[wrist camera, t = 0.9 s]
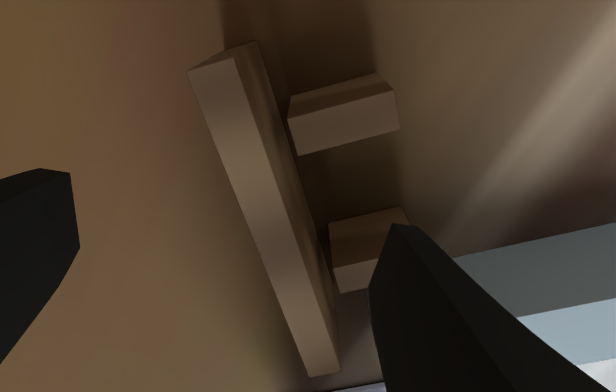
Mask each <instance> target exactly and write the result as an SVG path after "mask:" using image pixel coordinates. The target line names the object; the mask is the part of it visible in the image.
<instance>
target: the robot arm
mask: <svg viewBox="0 0 616 392" xmlns="http://www.w3.org/2000/svg"><path fill="white" fill-rule="evenodd" d="M79 249H80V242H79V235H78V228H77V221H76V214H75V206H74V199H73V192H72V185H71V178H70V173H68V172H61V171H55V170H48V169H42V168H38V169H34V170H30V171H26V172H22V173H19V174H16V175H12V176H9V177H6V178H3V179H0V364H1V363H2V361H3V360H4V359H5V357H6V356H7V355H8V353H9V352H10V351H11V349H12V348H13V347H14V346H15V344H16V343H17V342H18V340H19V339H20V338H21V336H22V335H23V334H24V332H25V331H26V330H27V328H28V327H29V326H30V324H31V323H32V322H33V321H34V319H35V318H36V317H37V315H38V314H39V312H40V311H41V310H42V308H43V307H44V306H45V304H46V303H47V302H48V300H49V299H50V298H51V296H52V295H53V294H54V292H55V291H56V289H57V288H58V287H59V285H60V283H61V282H62V280H63V278H64V276H65V275H66V273H67V271H68V269H69V268H70V266H71V264H72V262H73V260H74V258H75V256H76V254H77V253H78V251H79ZM368 289H369V302H370V313H371V323H372V329H373V334H374V338H375V343H376V348H377V352H378V357H379V361H380V365H381V370H382V374H383V379H384V382H382V383H376V384H371V385H366V386H360V387H355V388H349V389H344V390H339V391H333V392H611V391H609V390H608V389H607V388H605V387H604V386H602V385H601V384H600V383H598V382H597V381H595V380H594V379H593V378H591V377H590V376H588V375H587V374H586V373H584V372H583V371H582V370H580V369H579V368H578V367H576V366H575V365H574V364H573V363H571V362H570V361H569V360H567V359H566V358H565V357H563V356H562V355H561V354H560V353H558V352H557V351H556V350H554V349H553V348H552V347H550V346H549V345H548V344H547V343H545V342H544V341H543V340H542V339H540V338H539V337H538V336H537V335H535V334H534V333H533V332H532V331H531V330H529V329H528V328H527V327H526V326H525V325H524V324H522V323H521V322H520V321H519V320H518V319H517V318H515V317H514V316H513V315H512V314H511V313H510V312H508V311H507V310H506V309H505V308H504V307H503V306H502V305H500V304H499V303H498V302H497V301H496V300H495V299H494V298H493V297H492V296H491V295H489V294H488V293H487V292H486V291H485V290H484V289H483V288H482V287H481V286H480V285H479V284H478V283H477V282H475V281H474V280H473V279H472V278H471V277H470V276H469V275H468V274H467V273H466V272H465V271H464V270H463V269H462V268H461V267H460V266H459V265H458V264H457V263H456V262H455V261H454V260H453V259H452V258H450V257H449V256H448V255H447V254H446V253H445V252H444V251H443V250H442V249H441V248H440V247H439V246H438V245H437V244H436V243H435V242H434V241H433V240H432V239H431V238H430V237H428V236H427V235H426V234H425V233H424V232H423V231H422V230H420V229H419V228H418V227H417V226H410V225H404V224H397V223H392V224H391V227H390V230H389V232H388V235H387V238H386V240H385V243H384V246H383V248H382V251H381V254H380V256H379V259H378V262H377V264H376V267H375V269H374V272H373V275H372V277H371V280H370V283H369V285H368Z"/></svg>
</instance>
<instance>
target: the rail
mask: <svg viewBox="0 0 616 392" xmlns="http://www.w3.org/2000/svg"><path fill="white" fill-rule="evenodd" d="M452 259H453V260H454V261H455V262H456V263H457V264H458V265H459V266H460V267H461V268H462V269H463V270H464V271H465V272H466V273H467V274H468V275H469V276H470V277H471V278H472V279H473V280H474V281H475V282H477V283H478V284H479V285H480V286H481V287H482V288H483V289H484V290H485V291H486V292H487V293H488V294H489V295H491V296H492V297H493V298H494V299H495V300H496V301H497V302H498V303H499V304H500V305H502V306H503V307H504V308H505V309H506V310H507V311H508V312H510V313H511V314H512V315H513V316H514V317H515V318H517V319H518V320H519V321H520V322H521V323H522V324H524V325H525V326H526V327H527V328H528V329H529V330H531V331H532V332H533V333H534V334H535V335H537V336H538V337H539V338H540V339H542V340H543V341H544V342H545V343H547V344H548V345H549V346H550V347H552V348H553V349H554V350H556V351H557V352H558V353H560V354H561V355H562V356H563V357H565V358H566V359H567V360H569V361H570V362H571V363H573V364H574V365H581V364H586V363H592V362H597V361H603V360H608V359H614V358H616V222H615V223H610V224H606V225H601V226H597V227H592V228H587V229H583V230H578V231H574V232H569V233H565V234H560V235H555V236H551V237H546V238H542V239H537V240H533V241H528V242H523V243H519V244H514V245H510V246H505V247H501V248H496V249H491V250H487V251H482V252H478V253H473V254H469V255H464V256H459V257H455V258H452ZM364 291H365V296H366V301H367V306H368V311H369V316H370V321H371V313H370V302H369V289H368V288H364ZM371 325H372V323H371ZM372 330H373V329H372ZM373 335H374V334H373ZM374 340H375V338H374ZM375 345H376V343H375ZM376 349H377V348H376ZM377 353H378V352H377Z"/></svg>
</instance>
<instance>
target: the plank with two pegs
mask: <svg viewBox="0 0 616 392" xmlns="http://www.w3.org/2000/svg"><path fill="white" fill-rule="evenodd" d="M186 73H187V76H188V78H189V81H190V83H191V86H192V88H193V91H194V93H195V96H196V98H197V101H198V103H199V105H200V108H201V110H202V113H203V115H204V118H205V120H206V123H207V125H208V128H209V130H210V133H211V135H212V138H213V140H214V143H215V145H216V148H217V150H218V152H219V155H220V157H221V160H222V162H223V165H224V167H225V170H226V172H227V175H228V177H229V180H230V182H231V185H232V187H233V190H234V192H235V195H236V197H237V199H238V202H239V204H240V207H241V209H242V212H243V214H244V217H245V219H246V222H247V224H248V227H249V229H250V232H251V234H252V237H253V239H254V242H255V244H256V246H257V249H258V251H259V254H260V256H261V259H262V261H263V264H264V266H265V269H266V271H267V274H268V276H269V279H270V281H271V284H272V286H273V289H274V291H275V293H276V296H277V298H278V301H279V303H280V306H281V308H282V311H283V313H284V316H285V318H286V321H287V323H288V326H289V328H290V331H291V333H292V336H293V338H294V340H295V343H296V345H297V348H298V350H299V353H300V355H301V358H302V360H303V363H304V365H305V368H306V370H307V373H308V375H309V378H310V377H315V376H320V375H325V374H331V373H336V372H341V363H340V352H339V342H338V331H337V321H336V310H335V300H334V289H333V283H332V280H331V276H330V273H329V270H328V267H327V264H326V260H325V257H324V254H323V251H322V248H321V244H320V241H319V238H318V235H317V232H316V228H315V225H314V222H313V219H312V216H311V212H310V209H309V206H308V203H307V200H306V196H305V193H304V190H303V187H302V184H301V180H300V177H299V174H298V171H297V168H296V164H295V161H294V158H293V155H292V152H291V149H290V145H289V142H288V139H287V136H286V133H285V129H284V126H283V123H282V120H281V117H280V113H279V110H278V107H277V104H276V101H275V97H274V94H273V91H272V88H271V85H270V81H269V78H268V75H267V72H266V69H265V65H264V62H263V59H262V56H261V53H260V49H259V46H258V43H257V41H253V42H250V43H247V44H243V45H240V46H237V47H234V48H230V49H227V50H224V51H222V52H220V53H219V54H217V55H215V56H213V57H211V58H210V59H208V60H206V61H204V62H202V63H201V64H199V65H197V66H195V67H193V68H192V69H190V70H188V71H186ZM287 121H288V124H289V128H290V131H291V134H292V137H293V141H294V144H295V147H296V151H297V154H298V156H301V155H304V154H308V153H312V152H316V151H320V150H324V149H327V148H331V147H335V146H339V145H343V144H346V143H350V142H354V141H358V140H362V139H366V138H369V137H373V136H377V135H381V134H385V133H389V132H392V131H396V130H400V129H401V128H400V122H399V117H398V111H397V105H396V99H395V93H394V90H393V89H392V88H391V87H390V86H389V85H388V84H387V83H386V82H385V81H384V80H383V79H382V78H381V77H380V76H379V75H378V74H377V73H376V72H375V73H372V74H368V75H365V76H361V77H357V78H354V79H350V80H347V81H343V82H340V83H336V84H333V85H329V86H325V87H322V88H318V89H315V90H311V91H308V92H304V93H301V94H297V95H293V96H291V99H290V105H289V111H288V116H287ZM392 223H397V224H404V225H410V224H409V222H408V220H407V218H406V215H405V213H404V211H403V209H402V207H401V206H398V207H394V208H390V209H386V210H381V211H377V212H373V213H369V214H365V215H360V216H356V217H352V218H348V219H344V220H339V221H335V222H331V223H328V227H329V237H330V247H331V257H332V267H333V271H334V275H335V278H336V281H337V285H338V288H339V291H340V294H341V293H345V292H350V291H355V290H359V289H364V288H368V285H369V283H370V280H371V277H372V275H373V272H374V269H375V267H376V264H377V262H378V259H379V256H380V254H381V251H382V248H383V246H384V243H385V240H386V238H387V235H388V232H389V230H390V227H391V224H392Z"/></svg>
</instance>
